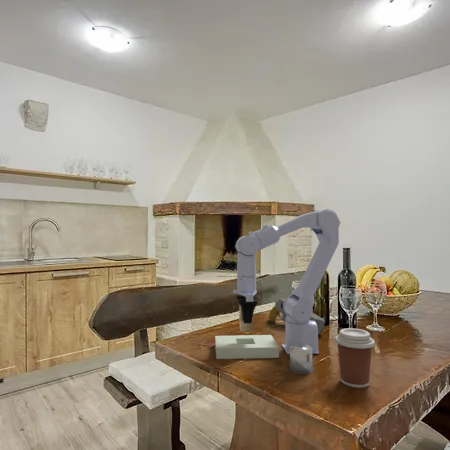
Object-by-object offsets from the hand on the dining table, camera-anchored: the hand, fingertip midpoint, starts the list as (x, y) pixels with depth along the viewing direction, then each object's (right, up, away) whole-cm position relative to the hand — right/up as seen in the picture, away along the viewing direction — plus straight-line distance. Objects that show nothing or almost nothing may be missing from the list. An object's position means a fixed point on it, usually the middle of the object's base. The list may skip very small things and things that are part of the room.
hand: (246, 321), depth 106 cm
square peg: (0, -3, 0) cm, 3 cm away
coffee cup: (+25, -9, -20) cm, 34 cm away
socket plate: (0, -9, +1) cm, 9 cm away
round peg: (+13, -9, -13) cm, 21 cm away
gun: (+20, -10, +27) cm, 35 cm away
